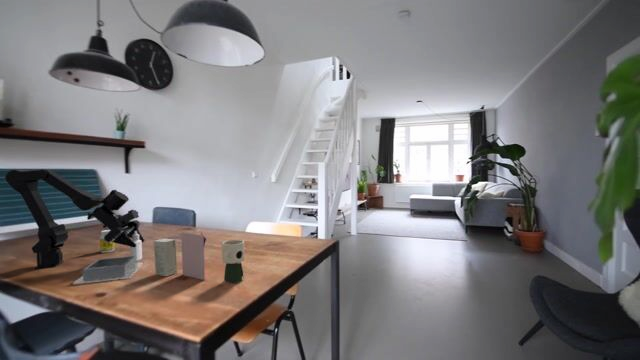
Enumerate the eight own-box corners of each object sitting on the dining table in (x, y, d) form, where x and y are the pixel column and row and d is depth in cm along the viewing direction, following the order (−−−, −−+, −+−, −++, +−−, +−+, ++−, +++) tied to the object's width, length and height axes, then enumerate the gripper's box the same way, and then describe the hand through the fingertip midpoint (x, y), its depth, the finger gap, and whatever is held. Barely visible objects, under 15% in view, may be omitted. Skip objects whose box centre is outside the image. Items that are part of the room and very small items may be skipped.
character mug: (236, 287, 89) (236, 246, 89) (215, 286, 90) (214, 246, 90) (250, 275, 100) (249, 238, 99) (231, 274, 101) (230, 237, 100)
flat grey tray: (72, 284, 93) (72, 272, 93) (94, 268, 108) (94, 258, 108) (129, 278, 98) (129, 266, 98) (142, 264, 113) (142, 253, 113)
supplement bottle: (113, 249, 136) (112, 229, 136) (115, 251, 132) (114, 230, 132) (99, 251, 132) (98, 230, 132) (101, 253, 128) (100, 232, 128)
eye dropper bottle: (146, 258, 120) (145, 230, 120) (134, 262, 115) (133, 233, 115) (138, 257, 122) (138, 229, 121) (126, 261, 116) (125, 232, 116)
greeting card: (207, 279, 96) (206, 235, 96) (182, 283, 93) (181, 238, 92) (204, 269, 106) (203, 229, 106) (182, 272, 103) (181, 231, 103)
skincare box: (177, 273, 103) (176, 239, 102) (166, 277, 99) (165, 242, 98) (165, 270, 105) (164, 237, 105) (154, 274, 102) (153, 240, 101)
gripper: (112, 207, 108) (145, 234, 110) (134, 201, 126) (162, 225, 129) (89, 228, 107) (123, 256, 109) (115, 220, 125) (143, 243, 127)
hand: (139, 244), depth 119 cm, fingers open, 8 cm apart
